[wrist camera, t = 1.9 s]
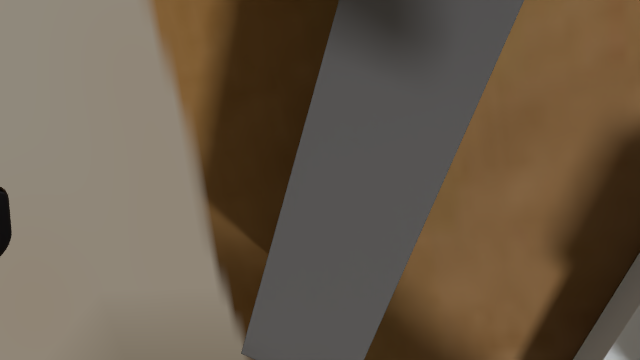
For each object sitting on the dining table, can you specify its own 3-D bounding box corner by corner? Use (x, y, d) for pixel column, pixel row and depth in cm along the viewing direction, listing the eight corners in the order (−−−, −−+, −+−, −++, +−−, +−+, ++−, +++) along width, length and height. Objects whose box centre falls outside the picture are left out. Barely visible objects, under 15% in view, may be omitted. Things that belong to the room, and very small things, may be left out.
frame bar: (377, 301, 19) (346, 398, 16) (289, 265, 19) (241, 353, 16) (596, -211, 12) (627, -233, 8) (448, -255, 12) (420, -293, 9)
